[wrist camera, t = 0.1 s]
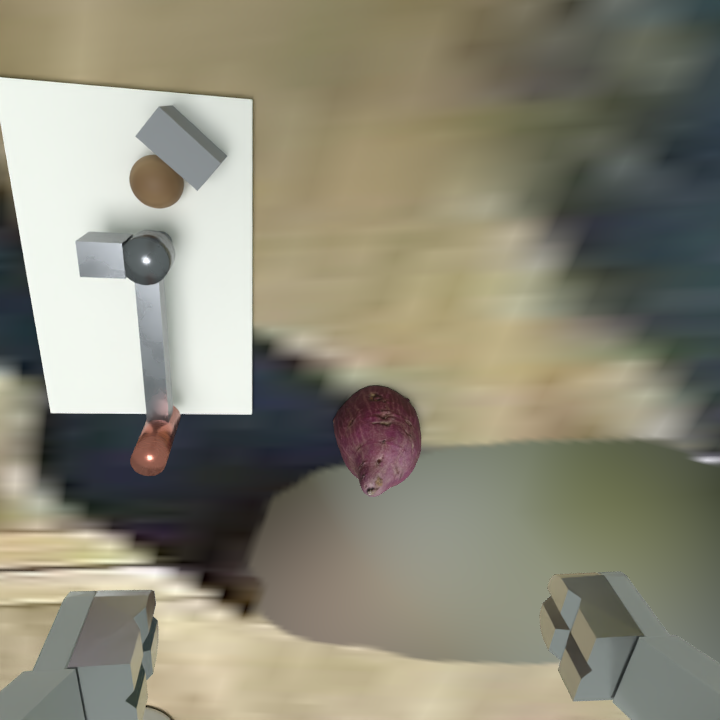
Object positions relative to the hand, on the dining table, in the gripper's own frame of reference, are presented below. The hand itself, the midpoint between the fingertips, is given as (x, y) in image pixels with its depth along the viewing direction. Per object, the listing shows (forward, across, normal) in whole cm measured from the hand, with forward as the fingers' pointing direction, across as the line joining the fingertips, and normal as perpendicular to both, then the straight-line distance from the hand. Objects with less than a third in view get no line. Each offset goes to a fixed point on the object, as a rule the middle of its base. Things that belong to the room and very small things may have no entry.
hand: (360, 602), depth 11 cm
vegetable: (+48, -10, +25) cm, 55 cm away
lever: (+43, +15, +12) cm, 47 cm away
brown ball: (+47, +12, -2) cm, 48 cm away
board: (+48, +15, +7) cm, 51 cm away
